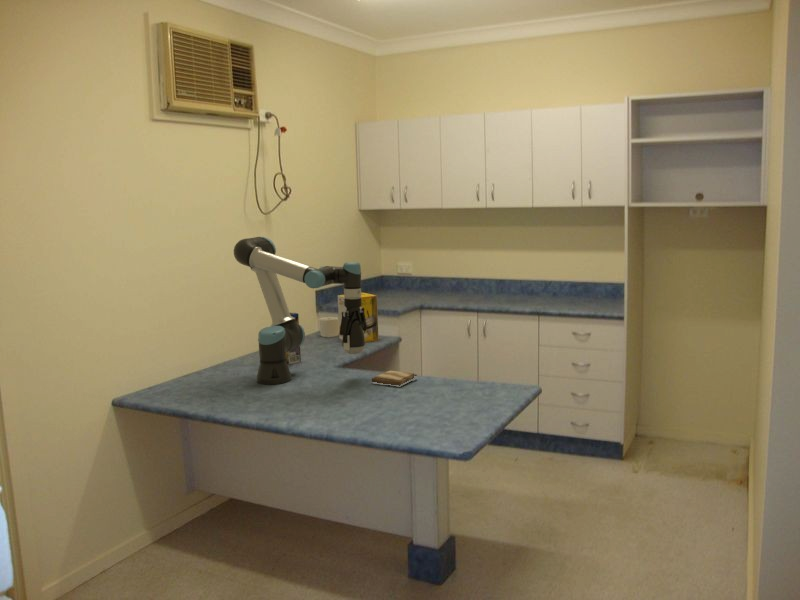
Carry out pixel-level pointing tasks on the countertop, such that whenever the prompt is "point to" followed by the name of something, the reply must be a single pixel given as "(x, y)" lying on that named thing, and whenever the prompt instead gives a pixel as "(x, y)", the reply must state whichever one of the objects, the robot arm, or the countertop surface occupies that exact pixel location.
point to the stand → (393, 377)
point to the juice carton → (294, 354)
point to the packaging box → (370, 315)
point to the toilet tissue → (329, 327)
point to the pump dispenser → (356, 337)
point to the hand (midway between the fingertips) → (354, 347)
